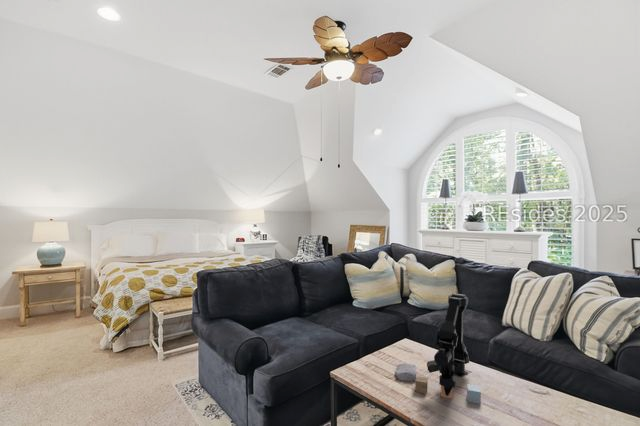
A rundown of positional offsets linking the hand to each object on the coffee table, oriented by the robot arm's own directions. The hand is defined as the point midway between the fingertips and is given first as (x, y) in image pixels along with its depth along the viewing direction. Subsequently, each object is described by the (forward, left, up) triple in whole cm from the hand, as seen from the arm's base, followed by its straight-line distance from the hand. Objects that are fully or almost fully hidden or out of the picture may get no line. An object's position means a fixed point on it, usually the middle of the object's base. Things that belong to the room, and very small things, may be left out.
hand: (446, 392), depth 146 cm
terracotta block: (0, 0, -1) cm, 1 cm away
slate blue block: (-6, +9, -1) cm, 11 cm away
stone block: (+1, -22, -2) cm, 22 cm away
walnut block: (+6, -9, -1) cm, 11 cm away
